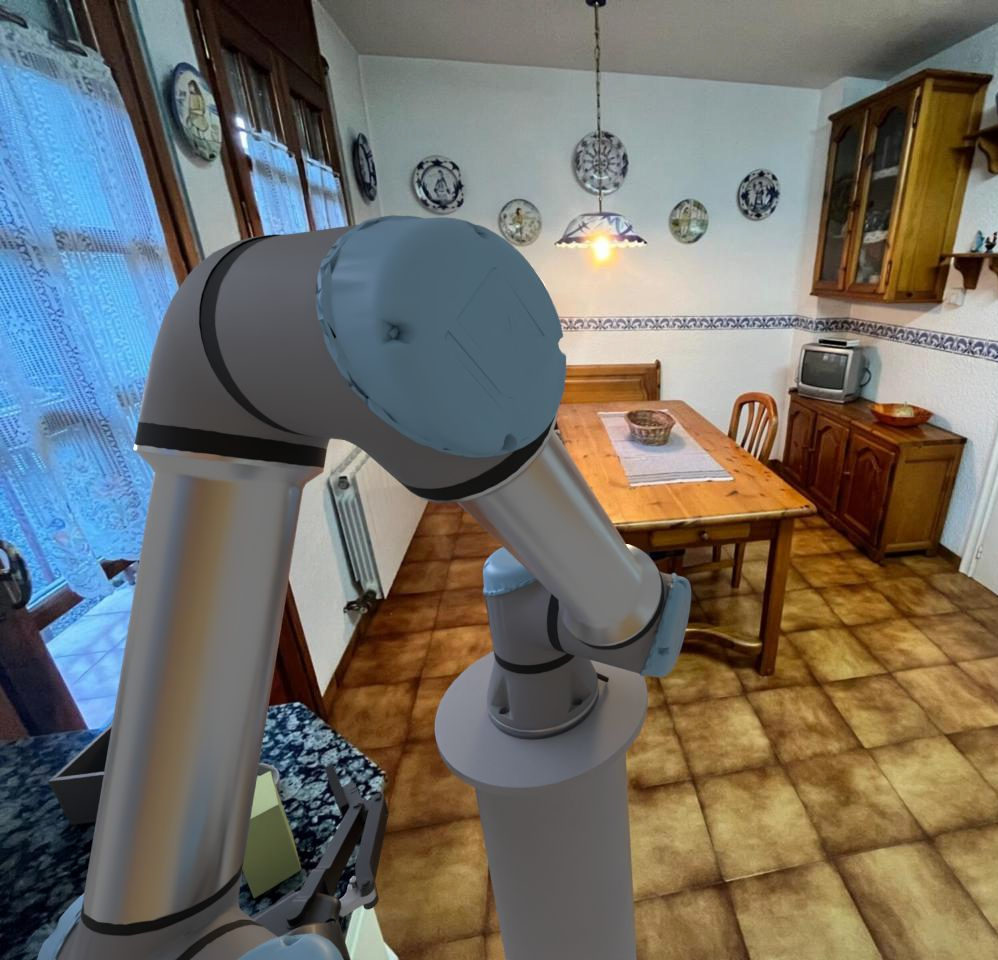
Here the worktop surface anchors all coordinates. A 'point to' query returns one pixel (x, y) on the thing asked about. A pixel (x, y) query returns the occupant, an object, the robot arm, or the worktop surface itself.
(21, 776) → the worktop surface
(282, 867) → the juice box
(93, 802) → the bin
